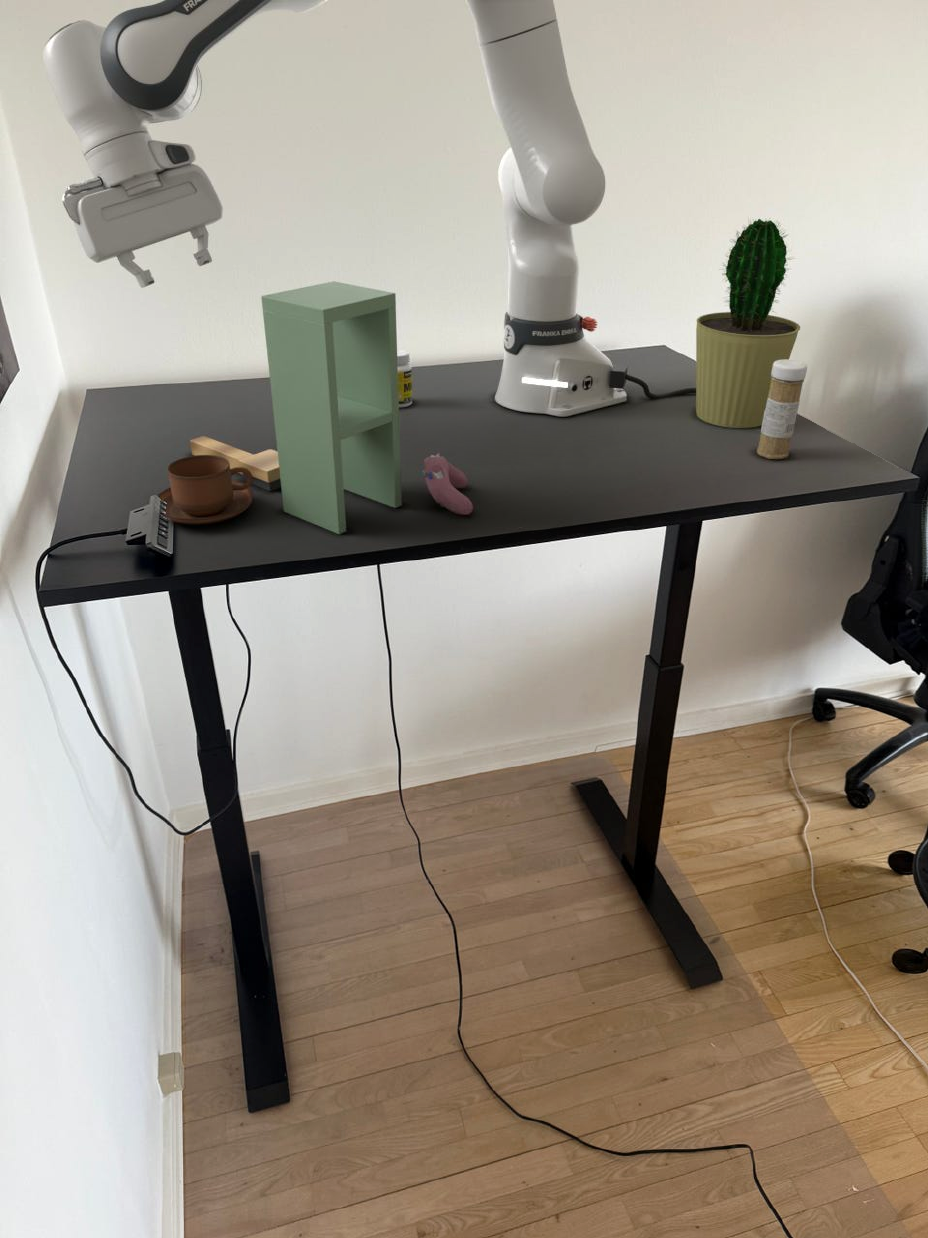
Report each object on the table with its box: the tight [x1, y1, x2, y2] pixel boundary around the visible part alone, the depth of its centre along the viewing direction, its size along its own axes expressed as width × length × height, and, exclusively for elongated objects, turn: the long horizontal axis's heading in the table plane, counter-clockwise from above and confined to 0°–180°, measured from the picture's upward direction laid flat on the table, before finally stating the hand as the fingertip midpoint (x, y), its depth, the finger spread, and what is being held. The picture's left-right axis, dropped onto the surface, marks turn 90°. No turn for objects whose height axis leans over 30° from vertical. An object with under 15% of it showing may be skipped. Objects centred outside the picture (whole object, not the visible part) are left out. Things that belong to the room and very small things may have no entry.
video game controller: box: [422, 452, 474, 516], centre depth 113 cm, size 10×5×7 cm, turn 5°
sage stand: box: [261, 281, 403, 535], centre depth 106 cm, size 10×11×26 cm
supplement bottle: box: [397, 349, 413, 408], centre depth 146 cm, size 5×5×8 cm
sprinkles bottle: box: [756, 359, 808, 461], centre depth 126 cm, size 5×5×14 cm
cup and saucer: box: [156, 455, 254, 526], centre depth 110 cm, size 12×12×6 cm
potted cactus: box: [695, 218, 801, 429], centre depth 136 cm, size 15×15×30 cm
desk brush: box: [189, 435, 282, 493], centre depth 123 cm, size 19×6×3 cm, turn 50°
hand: (177, 274), depth 122 cm, fingers open, 8 cm apart
